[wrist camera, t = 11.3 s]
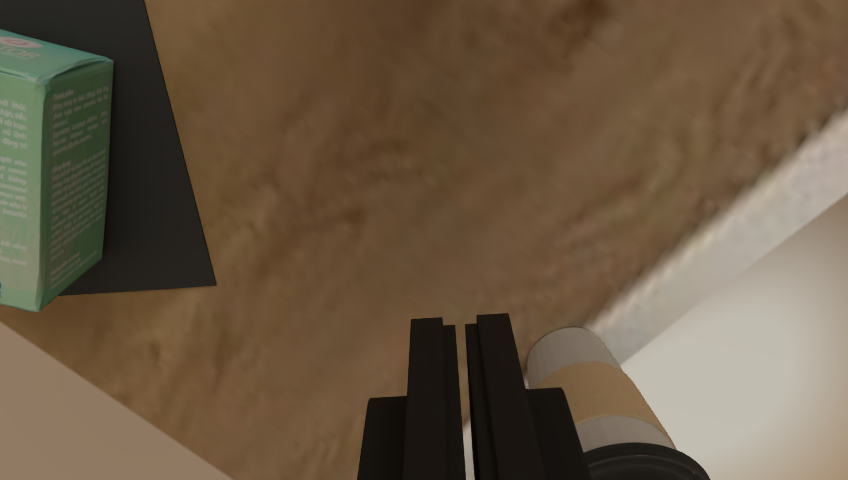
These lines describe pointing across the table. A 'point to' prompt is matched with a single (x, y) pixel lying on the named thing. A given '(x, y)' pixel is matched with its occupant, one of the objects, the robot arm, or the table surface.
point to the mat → (129, 148)
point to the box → (51, 167)
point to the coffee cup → (607, 410)
